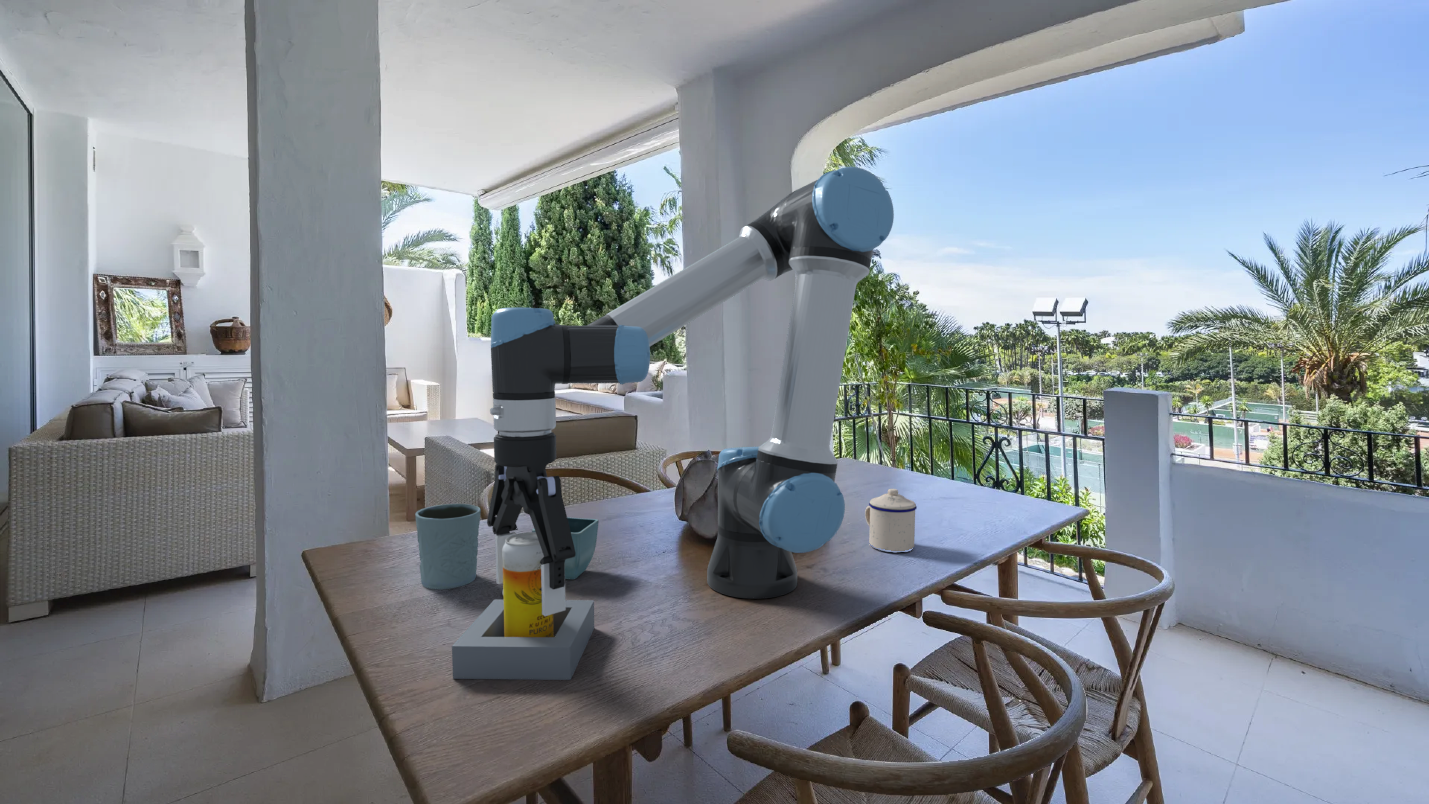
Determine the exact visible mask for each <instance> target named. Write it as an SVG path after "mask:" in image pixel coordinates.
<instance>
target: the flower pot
mask: <svg viewBox="0 0 1429 804" xmlns="http://www.w3.org/2000/svg"><path fill="white" fill-rule="evenodd" d="M567 519H568V523H569V527H570V531H571V535H572V539H573V544H574V548H575V552H576V555H575V557H573V558H569V559H566V560H565V580H576V579H577V578H578V577H579V576H580V575H582V574H583V573H584V572H585V571H586V570H587V569H588V567H589V564H590V563H591V561H592V558H593V556H594V554H595V551H596V546H597V539H598V530H599V523H600V521H599V519H596V518H582V517H581V518H580V517H570V516H569V517H568V516H567ZM531 532H535V529H534V528H532V529H531Z"/></svg>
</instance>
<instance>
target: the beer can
mask: <svg viewBox="0 0 1429 804" xmlns="http://www.w3.org/2000/svg"><path fill="white" fill-rule="evenodd" d="M502 557H503V583H502V588H503V589H502V591H503V595H502V597H503V600H504V636H505V637H555V636H554V629H553V614H551V615H548V616H544V615H542V585H541V564H540V561H541V559H542V558H543V557H544V555H543V552H542V549H541V546H540V543H539V540H538V538H537V535H536V532H532V531H530V532H529V531H528V532H519V533H517V534H515V535H512V536H509V537H507V538H506V540H505V544H504V546H503V548H502Z"/></svg>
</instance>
